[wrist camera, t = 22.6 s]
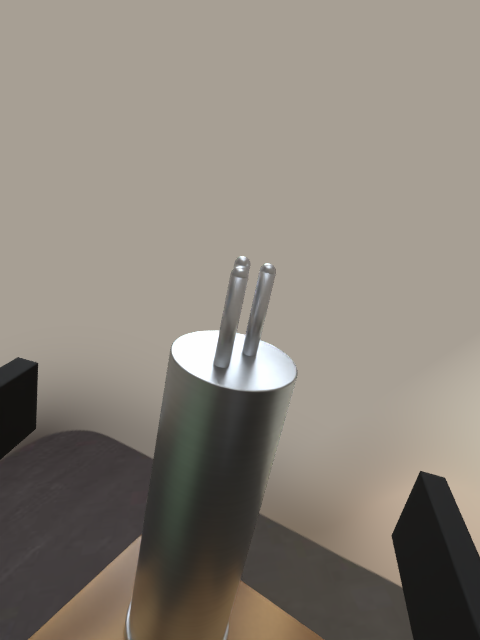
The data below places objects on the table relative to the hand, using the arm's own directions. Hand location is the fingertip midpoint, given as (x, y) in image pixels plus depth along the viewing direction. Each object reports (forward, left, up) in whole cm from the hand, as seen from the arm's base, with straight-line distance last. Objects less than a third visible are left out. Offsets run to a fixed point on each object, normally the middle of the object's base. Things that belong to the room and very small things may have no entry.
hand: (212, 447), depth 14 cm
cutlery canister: (-3, +7, -21) cm, 22 cm away
